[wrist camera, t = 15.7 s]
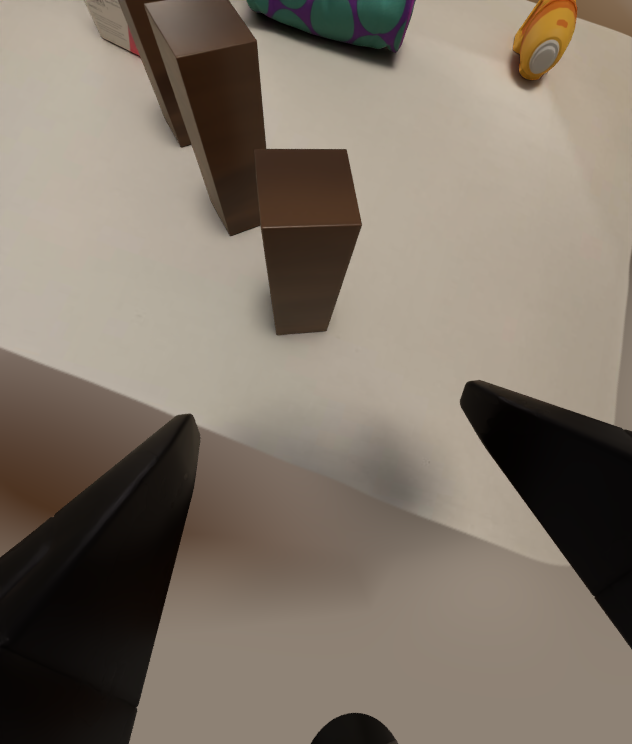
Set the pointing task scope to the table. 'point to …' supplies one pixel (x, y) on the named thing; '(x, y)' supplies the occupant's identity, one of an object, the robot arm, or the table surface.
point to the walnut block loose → (306, 232)
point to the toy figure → (545, 36)
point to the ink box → (111, 23)
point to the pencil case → (344, 19)
